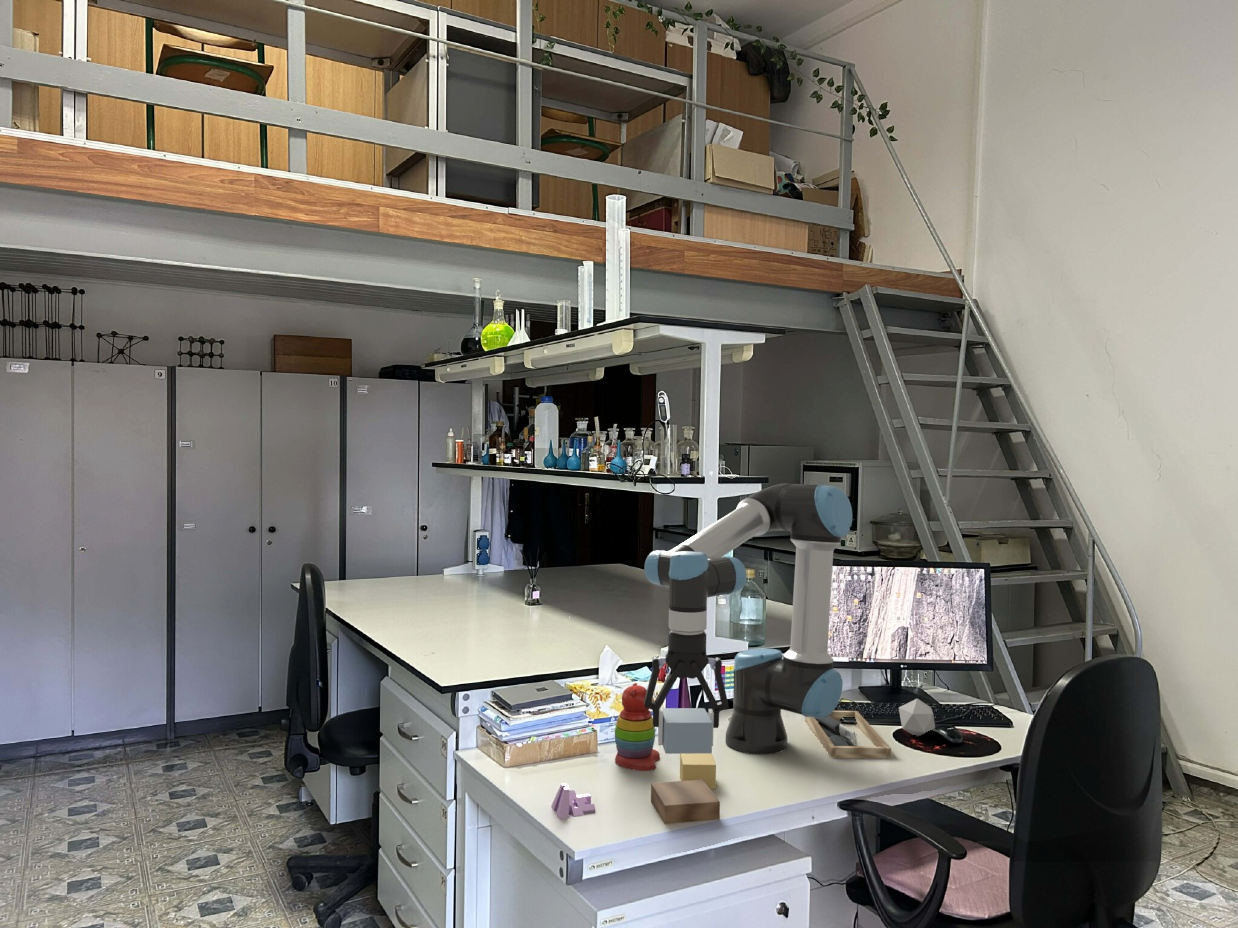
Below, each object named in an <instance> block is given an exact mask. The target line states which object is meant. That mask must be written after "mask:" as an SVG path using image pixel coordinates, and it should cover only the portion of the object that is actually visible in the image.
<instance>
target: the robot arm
mask: <svg viewBox="0 0 1238 928" xmlns="http://www.w3.org/2000/svg"><path fill="white" fill-rule="evenodd" d="M852 524H853V509H852V504H851V502H850V499H849V497H848V495H847V493H845V491H844V490H843V489H842V488H840V487H837V486H835V485H834V486H833V485H826V484H805V483H803V484H802V483H785V482H784V483H779V484H778V483H777V484H775V485H771V486H769V487H765V488H763V489H761V490H758V491H757V492H754V493H753V494H750V495H749V496H747V497H746V498H743V499H742V500H741V501H740V502H739V503H738V504H737V506H736V509H734V510H733V511H731V512H729V513H727V514H726V515H725V516H723V517H722V518H720V519H718V520H717V521H715V522H713V523H712V524H710V525H709V526H706V528H704V529H702V530H701V531H700V532H697V533H696V534H695V535H692V536H691V537H690V538H688V539H687V540H685V541H684V542H682V543H680V544H679V545H677V546H675V547H673V548H672V549H669V550H668V551H666V550H664V549H662V550H653V551H651V552H650V553H649V555H647V557H646V559H645V562H644V574H645V578H646V579H647V581H648V582H650V583H651V584H653V585H656V586H657V585H658V586H661V587H665V588H669V589H668V590H669V592H668V593H669V594H668V595H669V600H668V602H669V603H668V604H669V605H668V628H669V629H670V630H669V631H668V633H667V634H668V638H667V639H668V640H667V645H668V646H667V653H666V656H663V657H657V656H656V655H655V656H653V657H652V658H651V661H652V662H651V663H652V670H651V675H650V677H649V681H648V685H647V688H646V690H647V692H646V695H645V699H644V706H645V708H649V710H651V711H652V718H653V726H654V727H655V728H657V730H658V731H657V743H658V744H657V745H658V746H663V745H662V741H663V709H662V708H663V707H662V706H663V704H664V702H665V700H666V698H667V697H668V694H669V693H670V691H671V689H673V686H674V684H675V683H676V681H677V679H678V678H679V679H686V678H687V679H691V680H692V679H697V681H698V683H699V684H700V686H701V688H702V691H703V692H704V695H705V697H706V698H707V701H708V702H709V705H710V706H711V708H708V712H707V714H708V716H709V717H710V719H711V721H712V722H713V726H712V747H714V729H718V728H719V727H720V713H721V711H723V710H728V709H729V701H728V697H727V693H726V690H725V689H726V688H725V684H724V680H723V675H722V666H723V663H722V660H721V657H715V658H713V657H709V656H708V655H707V633H706V630H707V629H708V628H707V624H708V623H707V617H708V616H707V615H708V598H711V597H717V596H724V595H725V596H726V595H731V594H734V593H736V592H738V591H740V590H741V589H743V588H744V586H745V584H746V581H747V570H746V567H745V565H744V564H743V562H742V561H741V560H740V559H738V558H737V557H734V556H726V555H727V554H729V553H730V552H732V551H734V550H735V549H737V548H738V547H739V546H741V545H742V544H743V543H746V542H747V541H748V540H750V539H752V538H753V537H759V536H763V535H764V534H766V533H768V532H772V531H776V532H777V531H782V532H783V531H785V532H790V539H789V540H790V541H791V543H793V545H794V546H795V564H794V565H795V566H794V578H793V579H794V582H793V597H792V611H791V612H792V613H791V627H790V628H791V630H790V646H789V649H787V651H786V652H784V653H783V652H782V651H781V650H780V649H775V648H755V649H753V648H752V649H747V650H743V651H739V652H738V653H737V654H736V655H735V656H734V661H733V662H734V663H733V669H732V671H733V702H732V703H733V707H732V708H733V709H732V714H731V717H730V720H729V722H728V726H727V727H726V731H725V744H726V745H727V747H729V748H731V749H732V750H736V751H737V752H741V753H746V754H752V755H770V754H771V753H772V754H777V752H778V753H781V752H784V751H785V750H787V748H788V745H789V743H788V742H789V741H788V734H787V731H786V727H785V725H784V724H785V723H784V721H783V718H782V710H783V711H787V712H791V713H795V714H798V715H802V716H803V717H804V718H805V717H813V718H819V719H821V718H825V717H827V716H829V715H830V714H831V713H832V712H833V711H835V709H836V707H837V706H838V704H839V702H840V699H841V697H842V691H843V678H842V675H841V673H840V672H839V671H837V669H834V662H835V661H834V658H833V657H832V656H831V655H830V654H829V652H828V651H829V650H828V648H829V647H828V646H829V645H828V644H829V634H830V633H829V631H830V630H829V629H830V627H829V626H830V614H831V597H832V595H831V593H832V580H833V563H834V562H833V561H834V550H836V548H837V547H838V546H840V545H841V540H842V539H841V538H842V537H844V536H847V535H848V533H849V532H850V530H851V529H850V528H851V527H852ZM664 664H666V665H667V666H668V667H669V669H670V671H669V673H668V676H667V678H666V680H665V681H664V683H663V685H662V687H661V689H660V691H659V692H658V694H657V696H656V698H654V695H655V690H656V686H657V682H658V679H659V675H660V670H662V669H663V667H664ZM708 664H709V665H710V668H711V669H712V671H713V673H714V678H715V683H716V687H717V690H718V695H719V700H720V701H719V702H717V700H716V698H715V696H714V694H713V691H712V689H710V687H709V684H708V682H707V679H706V678H705V676H704V674H703V671H704V669H705V668H706V667H707V665H708ZM652 698H653V699H654V702H653V701H652ZM780 751H781V752H780Z"/></svg>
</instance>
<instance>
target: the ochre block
mask: <svg viewBox="0 0 1238 928" xmlns="http://www.w3.org/2000/svg"><path fill="white" fill-rule="evenodd" d="M679 755H680V756H679V778H680V779H679V780H680V781H690V780H704V782H705V783H706V784H707V785H708V787H709V788H710V789H711V790H715V789H716V788H717V787H716V786H717V785H716V782H717V780H716V778H717V774H716V773H717V764H716V761H715V758H714V755H713V752H712V753H693V754H679Z"/></svg>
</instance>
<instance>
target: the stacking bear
mask: <svg viewBox="0 0 1238 928" xmlns="http://www.w3.org/2000/svg"><path fill="white" fill-rule="evenodd" d="M646 692H647V688H646V687H645V686H642V685H638V683H637V682H634V683H633V684H632V685H631V686H628V687H626V688H625V689H624V691H623V692H622V695H621V703H622V704H621V705H622V706H623V709H622V710H621V711H620V713H619V714H618V716H617V719H616V723H615V729H614V741H615V745H616V752H617V753H616V755H615V758H614V762H615V763H616V765H618V766H620V767H622V766H623V767H622V768H624V767H625V769H628V768H629V770H633V769H635V770H634V771H641V772H643V771H644V772H649V771H654V770H655V769H656V763H655V762H656V761H658V760H660V759H661V758H660V756H661V755H660V752H659V750H656V749H655V748H654V745H655V740H656V729H655V728H656V727H654V726H653V713H652V712H651V711H650V709H649V708H645V706H644V699H645V695H646ZM652 701H653V702H654V701H655V698H654V697H653V698H652Z"/></svg>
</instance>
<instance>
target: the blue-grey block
mask: <svg viewBox="0 0 1238 928" xmlns="http://www.w3.org/2000/svg"><path fill="white" fill-rule="evenodd" d="M661 708H662V709H663V741H662V745H661V746H662V747H663V750H664V753H665V755H666V754H667V755H669V754H671V755H672V754H673V755H674V754H675V755H676V754H679V755H680V754H693V753H712V754H713V746H712V726H713V722H712V721H711V719H710V717H709V716H708V712H707V710H706V708H704V707H702V708H701V707H698V708H697V707H696V708H694V707H691V708H689V707H687V708H686V707H685V708H684V707H681V708H680V707H679V708H678V707H677V708H676V707H673V708H672V707H670V708H668V707H667V708H666V707H665V708H663V707H661Z"/></svg>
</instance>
